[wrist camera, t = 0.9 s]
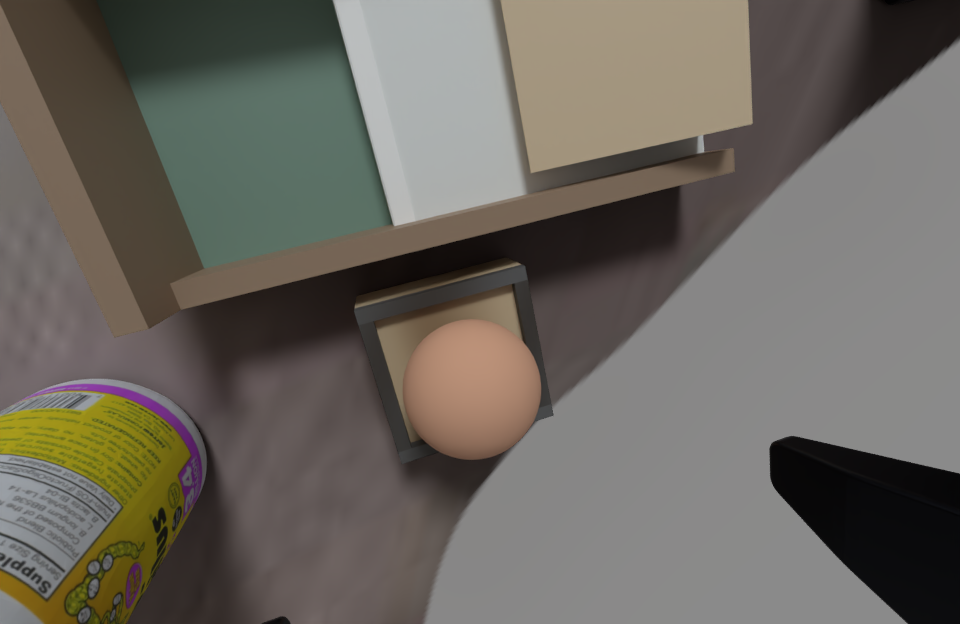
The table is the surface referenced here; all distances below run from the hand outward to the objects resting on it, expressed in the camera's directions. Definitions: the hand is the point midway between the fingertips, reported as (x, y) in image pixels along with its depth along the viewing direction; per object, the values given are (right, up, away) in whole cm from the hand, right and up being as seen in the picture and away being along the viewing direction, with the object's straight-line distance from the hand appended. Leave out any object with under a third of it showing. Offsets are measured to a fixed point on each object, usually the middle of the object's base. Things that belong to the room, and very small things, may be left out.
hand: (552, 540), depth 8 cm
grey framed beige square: (-2, +3, +11) cm, 11 cm away
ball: (-2, +2, +7) cm, 7 cm away
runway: (-3, +12, +8) cm, 15 cm away
